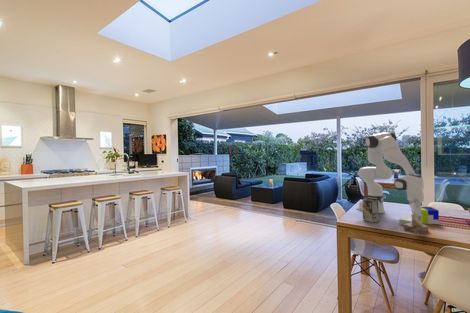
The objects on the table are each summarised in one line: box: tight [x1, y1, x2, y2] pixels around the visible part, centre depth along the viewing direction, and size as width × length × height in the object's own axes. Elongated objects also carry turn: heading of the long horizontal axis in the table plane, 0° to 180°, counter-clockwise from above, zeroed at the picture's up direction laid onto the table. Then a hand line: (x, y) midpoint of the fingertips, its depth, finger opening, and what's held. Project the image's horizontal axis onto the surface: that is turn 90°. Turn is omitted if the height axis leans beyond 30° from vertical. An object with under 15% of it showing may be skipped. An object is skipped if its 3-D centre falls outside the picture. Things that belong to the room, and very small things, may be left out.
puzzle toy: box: [421, 206, 440, 225], centre depth 174 cm, size 10×10×10 cm
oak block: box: [411, 213, 422, 227], centre depth 158 cm, size 5×5×7 cm
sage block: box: [398, 216, 412, 226], centre depth 170 cm, size 10×10×4 cm
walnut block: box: [402, 222, 429, 235], centre depth 158 cm, size 10×10×4 cm
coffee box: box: [362, 198, 379, 224], centre depth 181 cm, size 9×6×16 cm
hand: (415, 218), depth 159 cm, fingers open, 8 cm apart
